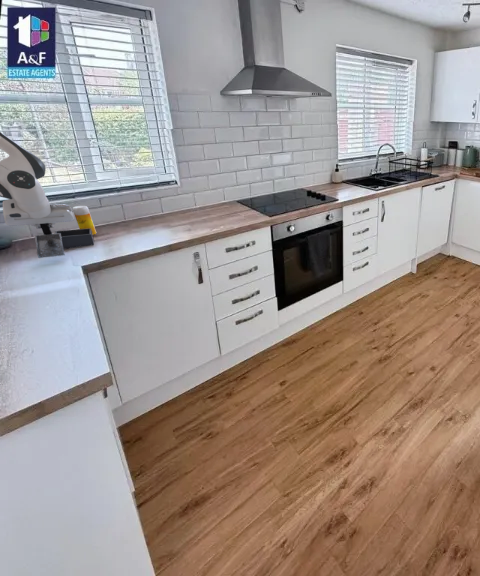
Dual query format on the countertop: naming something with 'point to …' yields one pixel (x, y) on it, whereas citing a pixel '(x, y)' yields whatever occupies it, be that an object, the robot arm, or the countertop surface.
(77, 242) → the bin
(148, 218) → the countertop surface
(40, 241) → the grey square piece
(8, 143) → the robot arm
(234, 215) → the countertop surface
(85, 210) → the glass of beer
